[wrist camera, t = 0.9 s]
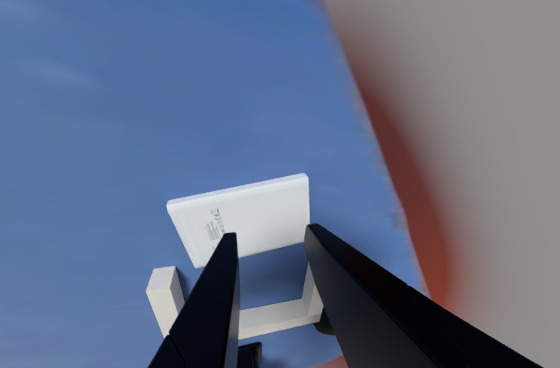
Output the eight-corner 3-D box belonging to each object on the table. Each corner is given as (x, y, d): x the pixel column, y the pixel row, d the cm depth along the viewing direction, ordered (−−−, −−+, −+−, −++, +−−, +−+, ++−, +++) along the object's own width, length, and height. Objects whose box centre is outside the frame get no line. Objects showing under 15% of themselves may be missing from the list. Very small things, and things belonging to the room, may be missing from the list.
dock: (312, 304, 31) (319, 321, 29) (175, 331, 27) (171, 354, 25) (326, 245, 25) (335, 261, 23) (153, 268, 21) (145, 291, 19)
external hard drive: (305, 231, 24) (197, 258, 22) (302, 170, 20) (169, 196, 18) (310, 242, 23) (195, 271, 21) (308, 177, 19) (164, 207, 17)
